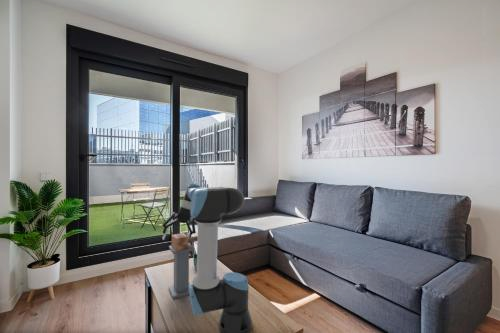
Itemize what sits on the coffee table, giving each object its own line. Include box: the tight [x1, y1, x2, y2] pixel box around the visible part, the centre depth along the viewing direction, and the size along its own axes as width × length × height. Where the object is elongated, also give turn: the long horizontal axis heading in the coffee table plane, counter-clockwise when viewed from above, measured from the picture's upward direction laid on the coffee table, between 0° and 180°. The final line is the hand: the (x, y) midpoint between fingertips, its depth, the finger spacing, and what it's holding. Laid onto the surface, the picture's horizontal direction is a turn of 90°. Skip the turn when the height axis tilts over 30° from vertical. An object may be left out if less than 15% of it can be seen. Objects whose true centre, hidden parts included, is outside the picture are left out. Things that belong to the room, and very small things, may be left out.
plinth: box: [168, 242, 195, 300], centre depth 136 cm, size 12×12×26 cm
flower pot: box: [192, 253, 197, 271], centre depth 167 cm, size 9×9×9 cm
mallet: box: [171, 232, 198, 251], centre depth 140 cm, size 23×9×7 cm, turn 125°
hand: (174, 241), depth 139 cm, fingers open, 13 cm apart
